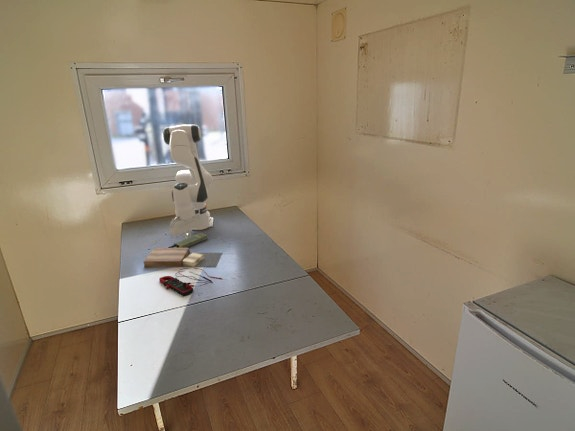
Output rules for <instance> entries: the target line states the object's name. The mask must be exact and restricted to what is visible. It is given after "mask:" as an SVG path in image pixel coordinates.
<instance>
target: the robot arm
mask: <svg viewBox="0 0 575 431" xmlns="http://www.w3.org/2000/svg"><path fill="white" fill-rule="evenodd" d="M201 139H202V130H201V128H200V126H199V125H197V124H192V123H191V124H180V125H174V126H167V127H164V129H163V130H162V140H163V141H164V143H165V144H166V145H167V146H169V152H170V153H169V154H170V159H171V160H172V161H173V162H174V163H175V164H176V165H178V166H181V167H185V168H186V169H183V170H179V171H177V173H175V174H176V175H175V182H176V184H173V187H172V191H171V198H172V202H173V204H175V207H174V210H175V218H172V219H171V220H170V223H169V231H170V235H171V236H172V237H176V238H177V237H179V236H180V235H182V234H183V236H184V239H187V238H189V237H192V235H191V234H192V231H193V230H194V231H200V230H205V229H208V228H212V227H213V226H214V217H211V213H210V211H208V208H207V207H208V206H207V203H206V201H207V200H208V198H209V190H208V188H210V187H211V186H212V184H213V181H214V180H213V175H212V174H211V173H210V172H208V171H207V170H206V169H205V167H203V165H202V163H201V161H200V157H199V153H198V147H197V145H196V144H197V143H198V142H200V141H201Z"/></svg>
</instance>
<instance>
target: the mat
mask: <svg viewBox="0 0 575 431" xmlns="http://www.w3.org/2000/svg"><path fill="white" fill-rule="evenodd" d="M192 253H193V252H190V254H192ZM197 253H198V254H204V259H203V260H201V261H200V262H199V263H198V264H197V265H195V266H194V267H192V266H186V265H182V267H181V268H216V267H217V265H218V262H219V261H220V258H221V256H222V252H197ZM190 254H189V255H190Z"/></svg>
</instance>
